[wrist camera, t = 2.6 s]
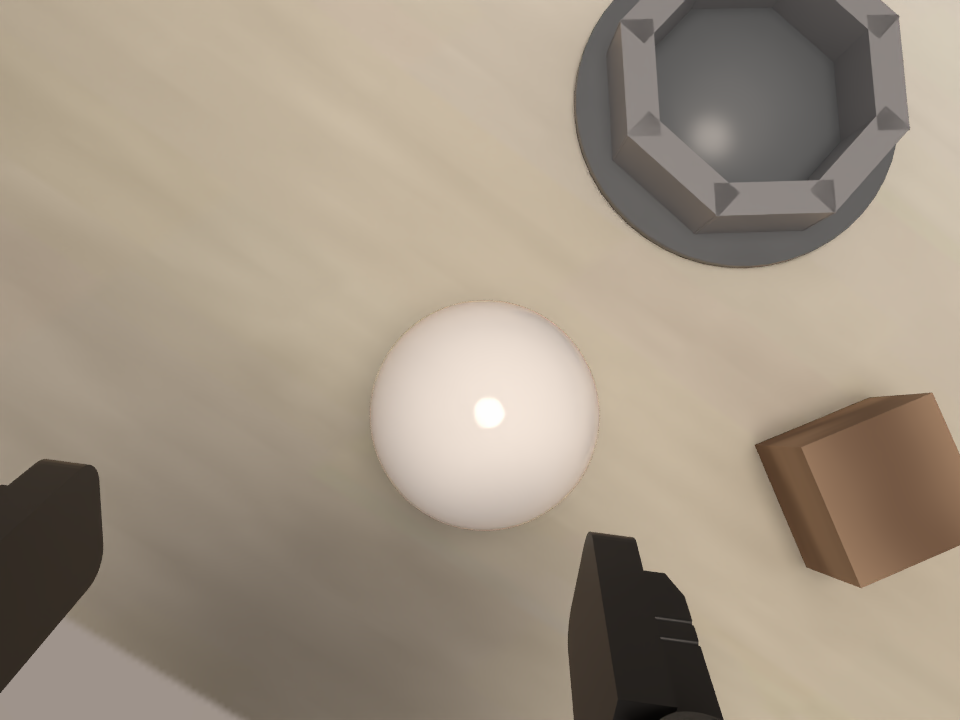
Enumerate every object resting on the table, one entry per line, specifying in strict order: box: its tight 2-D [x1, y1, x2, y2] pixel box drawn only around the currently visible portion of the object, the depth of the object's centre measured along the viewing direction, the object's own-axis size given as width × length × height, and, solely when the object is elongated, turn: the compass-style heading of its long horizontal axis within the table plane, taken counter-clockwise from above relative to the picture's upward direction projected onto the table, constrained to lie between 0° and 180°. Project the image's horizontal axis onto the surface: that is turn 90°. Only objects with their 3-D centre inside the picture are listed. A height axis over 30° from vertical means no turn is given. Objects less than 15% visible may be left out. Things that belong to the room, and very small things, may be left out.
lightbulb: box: [370, 300, 600, 531], centre depth 23 cm, size 6×6×11 cm
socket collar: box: [574, 0, 910, 268], centre depth 29 cm, size 13×13×3 cm
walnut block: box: [755, 393, 960, 588], centre depth 27 cm, size 5×5×4 cm
